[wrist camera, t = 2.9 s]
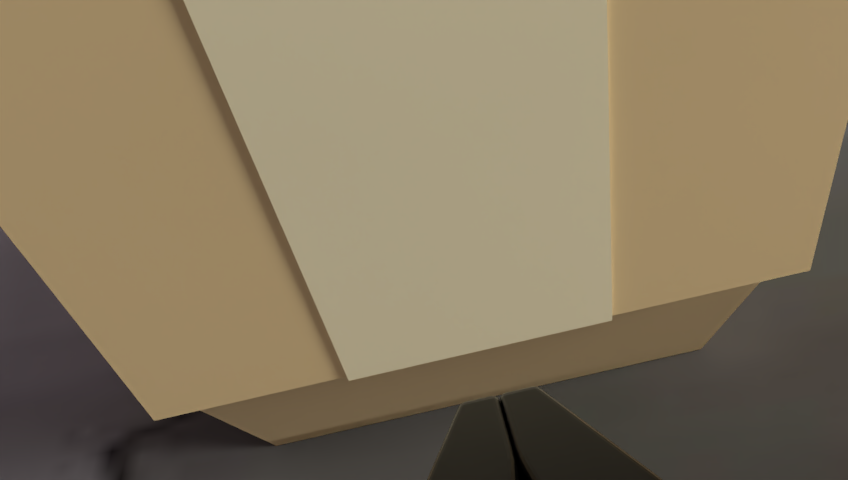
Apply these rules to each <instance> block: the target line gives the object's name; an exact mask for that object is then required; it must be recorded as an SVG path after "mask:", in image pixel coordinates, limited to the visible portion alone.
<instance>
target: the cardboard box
mask: <svg viewBox="0 0 848 480" xmlns="http://www.w3.org/2000/svg"><path fill="white" fill-rule="evenodd" d="M759 283H760V282H757V283H753V284H749V285H744V286H740V287H735V288H731V289H727V290H722V291H718V292H714V293H709V294H705V295H701V296H696V297H692V298H687V299H683V300H679V301H674V302H670V303H666V304H661V305H657V306H653V307H648V308H644V309H640V310H635V311H631V312H626V313H622V314H618V315H613V316H612V321H608V322H603V323H599V324H595V325H590V326H586V327H582V328H577V329H573V330H569V331H564V332H560V333H555V334H551V335H547V336H542V337H538V338H534V339H529V340H525V341H521V342H516V343H512V344H507V345H503V346H499V347H494V348H490V349H486V350H481V351H477V352H473V353H468V354H464V355H460V356H455V357H451V358H446V359H442V360H438V361H433V362H429V363H425V364H420V365H416V366H412V367H407V368H403V369H398V370H394V371H390V372H385V373H381V374H377V375H372V376H368V377H364V378H359V379H355V380H350V381H349V380H348V378H347V377H343V378H339V379H334V380H330V381H326V382H321V383H317V384H313V385H308V386H304V387H300V388H295V389H291V390H287V391H282V392H278V393H273V394H269V395H265V396H260V397H256V398H252V399H247V400H243V401H239V402H234V403H230V404H226V405H221V406H217V407H212V408H208V409H204V410H200V411H202V412H204V413H207V414H209V415H211V416H213V417H215V418H217V419H219V420H222V421H224V422H226V423H228V424H230V425H232V426H235V427H237V428H239V429H241V430H243V431H245V432H248V433H250V434H252V435H254V436H256V437H258V438H261V439H263V440H265V441H267V442H269V443H271V444H274V445H276V446H278V445H282V444H286V443H291V442H295V441H300V440H304V439H308V438H313V437H317V436H322V435H326V434H330V433H335V432H339V431H344V430H348V429H352V428H357V427H361V426H365V425H370V424H374V423H379V422H383V421H387V420H392V419H396V418H401V417H405V416H409V415H414V414H418V413H423V412H427V411H431V410H436V409H440V408H444V407H449V406H453V405H458V404H462V403H464V402H467V401H471V400H476V399H480V398H485V397H489V396H497V395H502V394H504V393H507V392H511V391H515V390H520V389H524V388H528V387H534V386H535V387H537V386H541V385H545V384H550V383H554V382H559V381H563V380H567V379H572V378H576V377H581V376H585V375H589V374H594V373H598V372H602V371H607V370H611V369H616V368H620V367H624V366H629V365H633V364H638V363H642V362H646V361H651V360H655V359H660V358H664V357H668V356H673V355H677V354H681V353H686V352H690V351H695V350H699V349H702V347H703V346H704V345H705V344H706V343H707V342H708V341H709V339H710V338H711V337H712V336H713V335H714V334H715V333H716V331H717V330H718V329H719V328H720V327H721V326H722V325H723V324H724V322H725V321H726V320H727V319H728V318H729V317H730V316H731V314H732V313H733V312H734V311H735V310H736V309H737V308H738V306H739V305H740V304H741V303H742V302H743V301H744V300H745V299H746V297H747V296H748V295H749V294H750V293H751V292H752V291H753V289H754V288H755V287H756V286H757V285H758V284H759Z"/></svg>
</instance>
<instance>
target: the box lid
mask: <svg viewBox="0 0 848 480" xmlns="http://www.w3.org/2000/svg"><path fill="white" fill-rule="evenodd" d="M847 120H848V0H0V227H1V228H2V229H3V230H4V232H5V233H6V234H7V235H8V237H9V238H10V239H11V241H12V242H13V243H14V244H15V246H16V247H17V248H18V249H19V251H20V252H21V253H22V254H23V256H24V257H25V258H26V259H27V261H28V262H29V263H30V265H31V266H32V267H33V268H34V270H35V271H36V272H37V273H38V275H39V276H40V277H41V278H42V280H43V281H44V282H45V283H46V285H47V286H48V287H49V289H50V290H51V291H52V292H53V294H54V295H55V296H56V297H57V299H58V300H59V301H60V302H61V304H62V305H63V306H64V308H65V309H66V310H67V311H68V313H69V314H70V315H71V316H72V318H73V319H74V320H75V321H76V323H77V324H78V325H79V326H80V328H81V329H82V330H83V332H84V333H85V334H86V335H87V337H88V338H89V339H90V340H91V342H92V343H93V344H94V345H95V347H96V348H97V349H98V350H99V352H100V353H101V354H102V356H103V357H104V358H105V359H106V361H107V362H108V363H109V364H110V366H111V367H112V368H113V369H114V371H115V372H116V373H117V374H118V376H119V377H120V378H121V380H122V381H123V382H124V383H125V385H126V386H127V387H128V388H129V390H130V391H131V392H132V393H133V395H134V396H135V397H136V399H137V400H138V401H139V402H140V404H141V405H142V406H143V407H144V409H145V410H146V411H147V412H148V414H149V415H150V416H151V417H152V419H153V420H154V421H156V420H160V419H165V418H169V417H173V416H178V415H182V414H186V413H191V412H195V411H199V410H204V409H208V408H212V407H217V406H221V405H226V404H230V403H234V402H239V401H243V400H247V399H252V398H256V397H260V396H265V395H269V394H273V393H278V392H282V391H287V390H291V389H295V388H300V387H304V386H308V385H313V384H317V383H321V382H326V381H330V380H334V379H339V378H343V377H347V378H348V380H349V381H350V380H355V379H359V378H364V377H368V376H372V375H377V374H381V373H385V372H390V371H394V370H398V369H403V368H407V367H412V366H416V365H420V364H425V363H429V362H433V361H438V360H442V359H446V358H451V357H455V356H460V355H464V354H468V353H473V352H477V351H481V350H486V349H490V348H494V347H499V346H503V345H507V344H512V343H516V342H521V341H525V340H529V339H534V338H538V337H542V336H547V335H551V334H555V333H560V332H564V331H569V330H573V329H577V328H582V327H586V326H590V325H595V324H599V323H603V322H608V321H612V316H613V315H618V314H622V313H626V312H631V311H635V310H640V309H644V308H648V307H653V306H657V305H661V304H666V303H670V302H674V301H679V300H683V299H687V298H692V297H696V296H701V295H705V294H709V293H714V292H718V291H722V290H727V289H731V288H735V287H740V286H744V285H749V284H753V283H757V282H762V281H766V280H770V279H775V278H779V277H783V276H788V275H792V274H796V273H801V272H805V271H810V269H811V265H812V261H813V257H814V253H815V249H816V245H817V241H818V237H819V233H820V229H821V225H822V221H823V217H824V213H825V209H826V205H827V201H828V197H829V193H830V189H831V185H832V181H833V177H834V173H835V169H836V165H837V161H838V157H839V153H840V148H841V144H842V140H843V136H844V132H845V128H846V124H847Z"/></svg>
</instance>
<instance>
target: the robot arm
mask: <svg viewBox="0 0 848 480" xmlns="http://www.w3.org/2000/svg"><path fill="white" fill-rule="evenodd" d="M500 402H501V403H500ZM427 480H662V479H661V478H660V477H658V476H657V475H656V474H654V473H653V472H652V471H650V470H649V469H648V468H646V467H645V466H644V465H642V464H641V463H640V462H638V461H637V460H636V459H634V458H633V457H632V456H630V455H629V454H628V453H626V452H625V451H623V450H622V449H621V448H619V447H618V446H617V445H615V444H614V443H613V442H611V441H610V440H609V439H607V438H606V437H605V436H603V435H602V434H601V433H599V432H598V431H597V430H595V429H594V428H593V427H591V426H590V425H589V424H587V423H586V422H584V421H583V420H582V419H580V418H579V417H578V416H576V415H575V414H574V413H572V412H571V411H570V410H568V409H567V408H566V407H564V406H563V405H562V404H560V403H559V402H558V401H556V400H555V399H554V398H552V397H551V396H550V395H548V394H547V393H545V392H544V391H543V390H541V389H540V388H538V387H535V386H534V387H528V388H524V389H520V390H515V391H511V392H507V393H504V394H503V395H502V396H501V398H500V401H499V399H498V398H497V397H495V396H489V397H485V398H480V399H476V400H471V401H467V402H464V403H462V404H461V405H460V406H459V408H458V410H457V413H456V415H455V417H454V419H453V422H452V424H451V426H450V429H449V431H448V433H447V436H446V438H445V440H444V442H443V445H442V447H441V449H440V452H439V454H438V456H437V458H436V461H435V463H434V465H433V468H432V470H431V472H430V475H429V477H428V479H427Z"/></svg>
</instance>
